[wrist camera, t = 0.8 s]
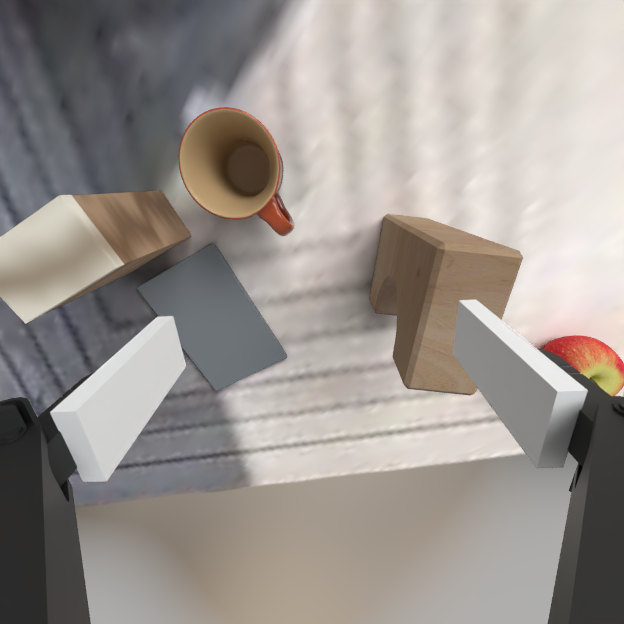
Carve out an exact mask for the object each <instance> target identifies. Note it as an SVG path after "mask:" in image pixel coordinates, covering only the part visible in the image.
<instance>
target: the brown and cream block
mask: <svg viewBox="0 0 624 624" xmlns="http://www.w3.org/2000/svg"><path fill="white" fill-rule="evenodd" d="M190 236H191V234H190V233H189V231H188V230H187V228H186V227H185V225H184V224H183V222H182V221H181V219H180V218H179V216H178V215H177V213H176V212H175V210H174V209H173V207H172V206H171V204H170V203H169V201H168V200H167V198H166V197H165V195H164V194H163V192H162V191H144V192H126V193H109V194H92V195H74V196H72V195H59V196H58V197H56V198H55V199H54V200H52V201H51V202H49V203H48V204H46V205H45V206H44V207H42V208H41V209H39V210H38V211H37V212H35V213H34V214H32V215H31V216H30V217H28V218H27V219H25V220H24V221H22V222H21V223H20V224H18V225H17V226H15V227H14V228H13V229H11V230H10V231H8V232H7V233H6V234H4V235H3V236H1V237H0V297H1V298H2V299H3V300H4V301H5V302H6V303H7V304H8V305H9V307H10V308H11V309H12V310H13V311H14V312H15V313H16V314H17V315H18V316H19V317H20V318H21V319H22V320H23V321H24V323H25V324H26V323H28V322H30V321H32V320H34V319H36V318H38V317H40V316H41V315H43V314H45V313H48V312H50V311H52V310H54V309H56V308H58V307H60V306H62V305H64V304H66V303H68V302H71V301H73V300H75V299H77V298H79V297H81V296H83V295H85V294H87V293H89V292H91V291H94V290H96V289H98V288H100V287H102V286H104V285H106V284H108V283H110V282H112V281H114V280H117V279H119V278H121V277H123V276H125V275H127V274H129V273H131V272H133V271H134V270H136V269H138V268H139V267H141V266H143V265H144V264H146V263H147V262H149V261H151V260H152V259H154V258H156V257H157V256H159V255H161V254H162V253H164V252H166V251H167V250H169V249H171V248H172V247H174V246H176V245H177V244H179V243H181V242H182V241H184V240H185V239H187V238H189V237H190Z"/></svg>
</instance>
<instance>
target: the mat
mask: <svg viewBox="0 0 624 624" xmlns="http://www.w3.org/2000/svg"><path fill="white" fill-rule="evenodd" d="M137 289H138V291H139V292H140V293H141V294H142V296H143V297H144V298H145V300H146V301H147V302H148V303H149V305H150V306H151V307H152V309H153V310H154V311H155V313H156V314H157V315H158V316H159V317H162V316H173V317H174V321H175V325H176V329H177V332H178V336H179V340H180V344H181V346H182V348H183V349H184V350H185V351H186V353H187V354H188V355H189V357H190V358H191V359H192V360H193V362H194V363H195V364H196V366H197V367H198V368H199V370H200V371H201V372H202V373H203V375H204V376H205V377H206V379H207V380H208V381H209V383H210V384H211V385H212V386H213V388H214V389H215V390H216V391H218V390H220V389H222V388H224V387H226V386H228V385H230V384H232V383H235V382H237V381H239V380H241V379H243V378H245V377H247V376H249V375H251V374H253V373H256V372H258V371H260V370H262V369H264V368H266V367H268V366H270V365H272V364H274V363H277V362H279V361H281V360H283V359H285V358H287V354H286V353H285V351H284V349H283V348H282V346H281V345H280V343H279V342H278V340H277V339H276V337H275V336H274V334H273V333H272V331H271V329H270V328H269V326H268V325H267V323H266V322H265V320H264V319H263V317H262V316H261V314H260V313H259V311H258V309H257V308H256V306H255V305H254V303H253V302H252V300H251V299H250V297H249V296H248V294H247V292H246V291H245V289H244V288H243V286H242V285H241V283H240V282H239V280H238V279H237V277H236V276H235V274H234V272H233V271H232V269H231V268H230V266H229V265H228V263H227V262H226V260H225V259H224V257H223V256H222V254H221V252H220V251H219V249H218V248H217V246H216V245H215V243H212V244H210V245H209V246H207V247H205V248H204V249H202V250H200V251H198V252H197V253H195V254H193V255H192V256H190V257H188V258H187V259H185V260H183V261H181V262H180V263H178V264H176V265H175V266H173V267H171V268H170V269H168V270H166V271H165V272H163V273H161V274H159V275H158V276H156V277H154V278H153V279H151V280H149V281H148V282H146V283H144V284H142V285H141V286H139V287H137Z"/></svg>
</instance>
